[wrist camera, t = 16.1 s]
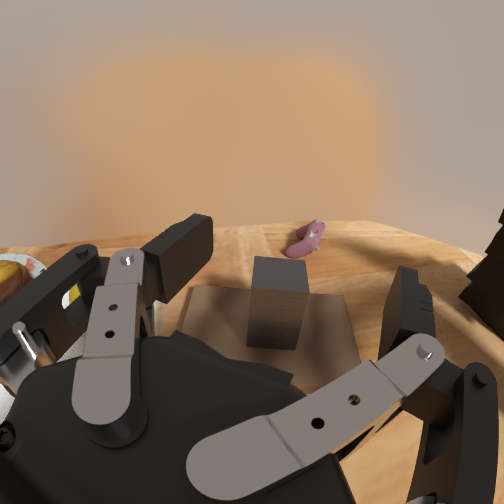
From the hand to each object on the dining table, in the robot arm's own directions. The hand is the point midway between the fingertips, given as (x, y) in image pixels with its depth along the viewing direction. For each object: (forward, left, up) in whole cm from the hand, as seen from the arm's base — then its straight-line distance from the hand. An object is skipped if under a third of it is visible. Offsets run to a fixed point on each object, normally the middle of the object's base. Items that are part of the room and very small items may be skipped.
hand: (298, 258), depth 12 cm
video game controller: (-30, -28, -24) cm, 48 cm away
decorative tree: (-45, +6, -23) cm, 51 cm away
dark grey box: (-10, -13, -21) cm, 27 cm away
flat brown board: (-10, -13, -23) cm, 28 cm away
